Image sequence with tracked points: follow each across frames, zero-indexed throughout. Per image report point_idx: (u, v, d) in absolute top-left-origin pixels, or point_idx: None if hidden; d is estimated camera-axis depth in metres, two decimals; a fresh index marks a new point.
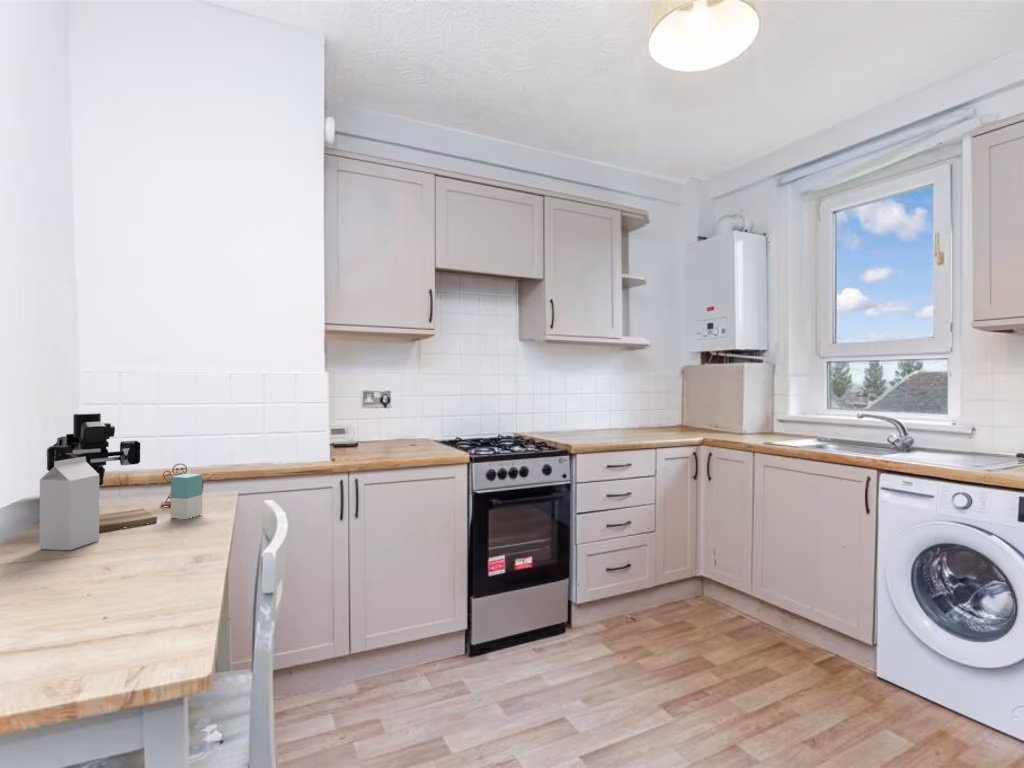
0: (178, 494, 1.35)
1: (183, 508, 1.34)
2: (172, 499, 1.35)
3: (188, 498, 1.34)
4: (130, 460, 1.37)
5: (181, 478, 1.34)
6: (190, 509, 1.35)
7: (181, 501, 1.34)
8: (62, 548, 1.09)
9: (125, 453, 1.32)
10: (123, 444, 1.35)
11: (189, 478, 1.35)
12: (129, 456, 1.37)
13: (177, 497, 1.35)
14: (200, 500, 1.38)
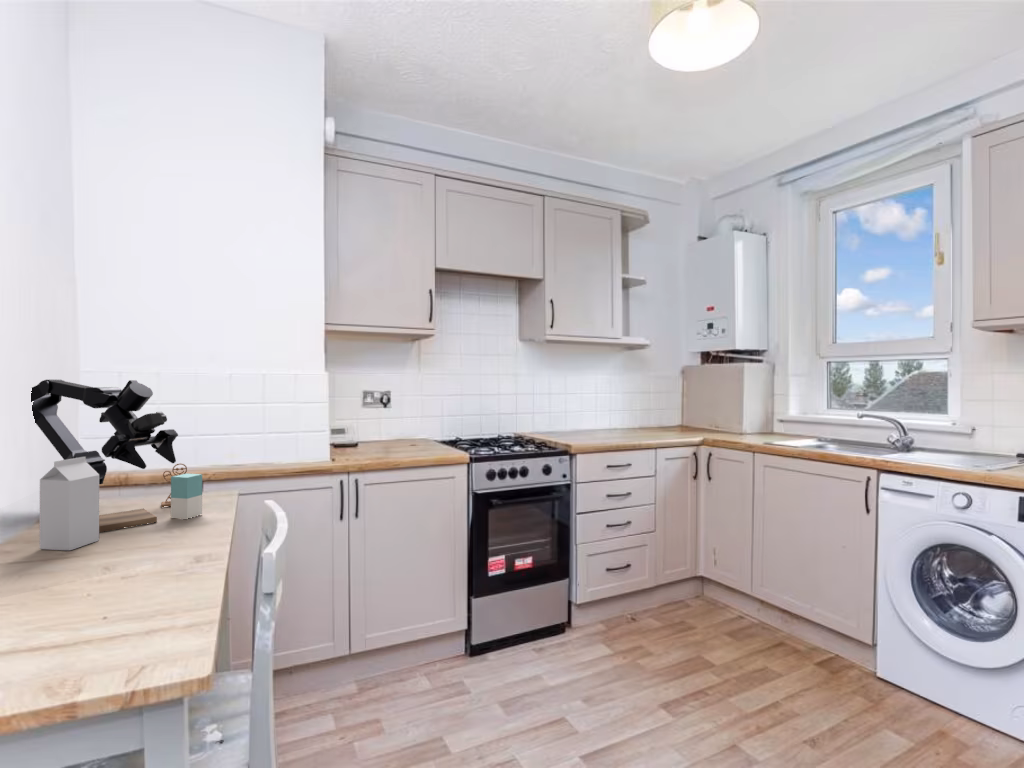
0: (178, 494, 1.35)
1: (183, 508, 1.34)
2: (172, 499, 1.35)
3: (188, 498, 1.34)
4: None
5: (181, 478, 1.34)
6: (190, 509, 1.35)
7: (181, 501, 1.34)
8: (62, 548, 1.09)
9: (173, 456, 1.43)
10: (168, 438, 1.44)
11: (189, 478, 1.35)
12: None
13: (177, 497, 1.35)
14: (200, 500, 1.38)
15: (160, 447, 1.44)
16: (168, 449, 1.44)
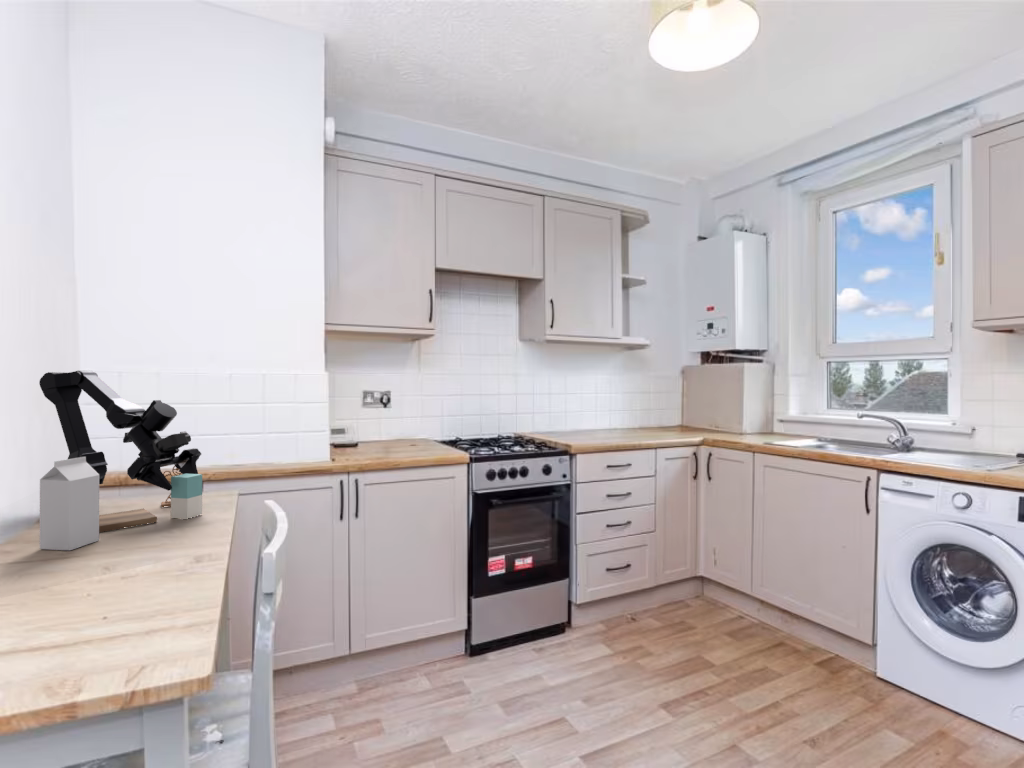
0: (178, 494, 1.35)
1: (183, 508, 1.34)
2: (172, 499, 1.35)
3: (188, 498, 1.34)
4: None
5: (181, 478, 1.34)
6: (190, 509, 1.35)
7: (181, 501, 1.34)
8: (62, 548, 1.09)
9: None
10: (192, 458, 1.43)
11: (189, 478, 1.35)
12: None
13: (177, 497, 1.35)
14: (200, 500, 1.38)
15: (184, 467, 1.43)
16: (192, 469, 1.42)
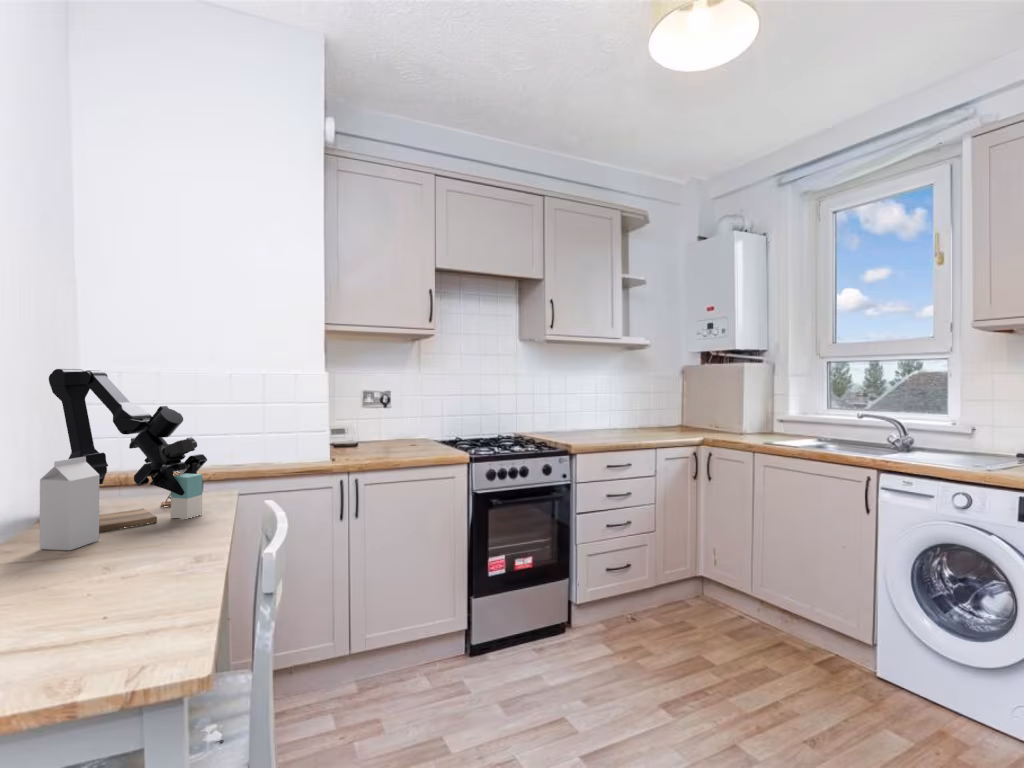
0: None
1: (183, 508, 1.34)
2: (172, 499, 1.35)
3: (188, 498, 1.34)
4: None
5: (181, 478, 1.34)
6: (190, 509, 1.35)
7: (181, 501, 1.34)
8: (62, 548, 1.09)
9: None
10: (193, 465, 1.41)
11: (189, 478, 1.35)
12: None
13: (177, 497, 1.35)
14: (200, 500, 1.38)
15: None
16: None
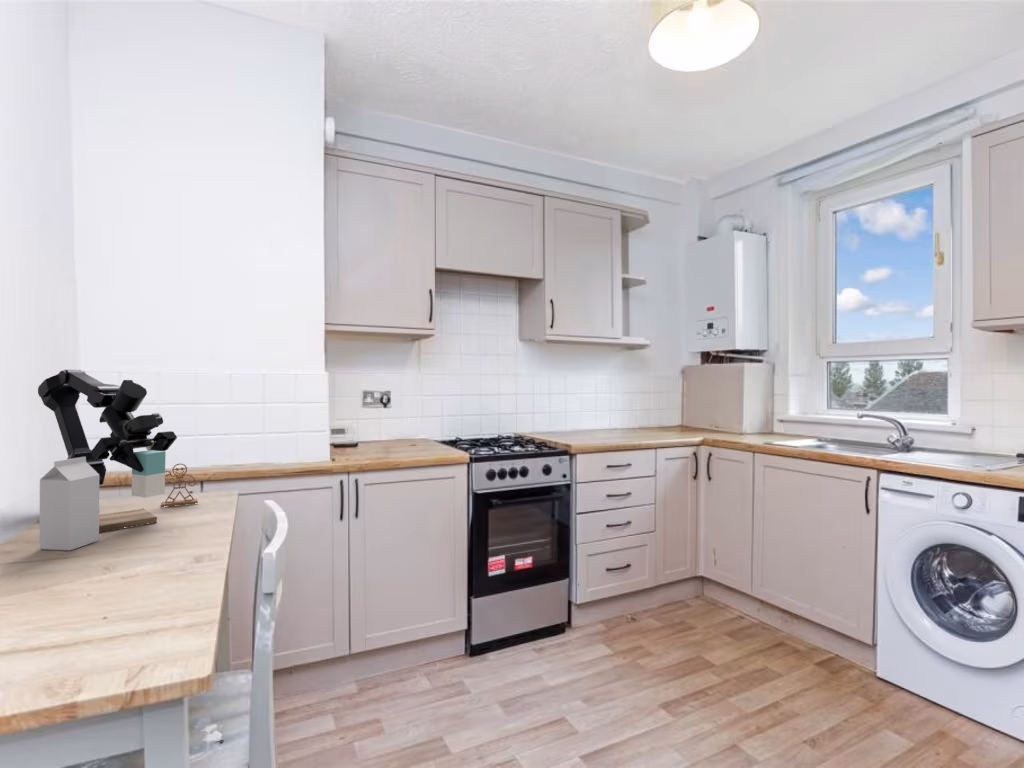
0: None
1: (142, 485, 1.30)
2: (133, 475, 1.31)
3: (147, 475, 1.30)
4: None
5: (141, 454, 1.30)
6: (150, 487, 1.31)
7: (140, 478, 1.30)
8: (62, 548, 1.09)
9: None
10: (158, 442, 1.36)
11: (149, 454, 1.30)
12: None
13: (137, 474, 1.30)
14: (162, 478, 1.34)
15: None
16: None
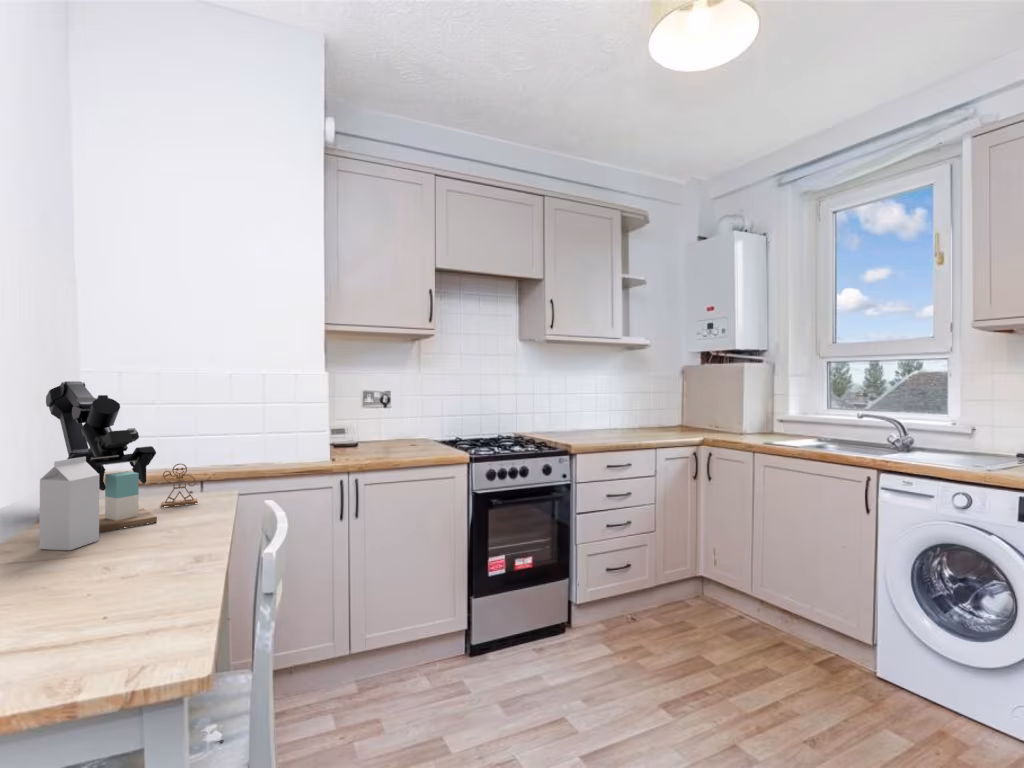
0: (110, 493, 1.28)
1: (113, 508, 1.28)
2: (106, 498, 1.29)
3: (117, 498, 1.27)
4: None
5: (112, 476, 1.28)
6: (121, 510, 1.28)
7: (112, 500, 1.28)
8: (62, 548, 1.09)
9: (144, 475, 1.34)
10: (142, 457, 1.36)
11: (119, 477, 1.28)
12: None
13: (109, 496, 1.28)
14: (135, 500, 1.31)
15: (135, 465, 1.37)
16: (140, 468, 1.35)
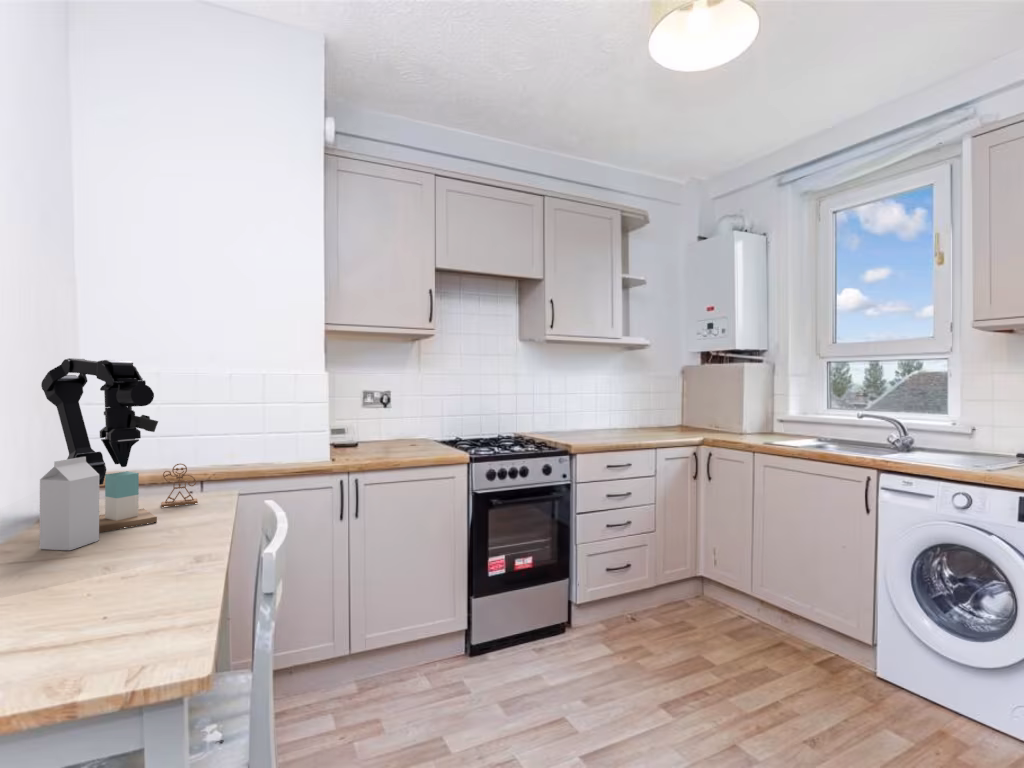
0: (110, 493, 1.28)
1: (113, 508, 1.28)
2: (106, 498, 1.29)
3: (117, 498, 1.27)
4: None
5: (112, 476, 1.28)
6: (121, 510, 1.28)
7: (112, 500, 1.28)
8: (62, 548, 1.09)
9: None
10: None
11: (119, 477, 1.28)
12: None
13: (109, 496, 1.28)
14: (135, 500, 1.31)
15: None
16: None
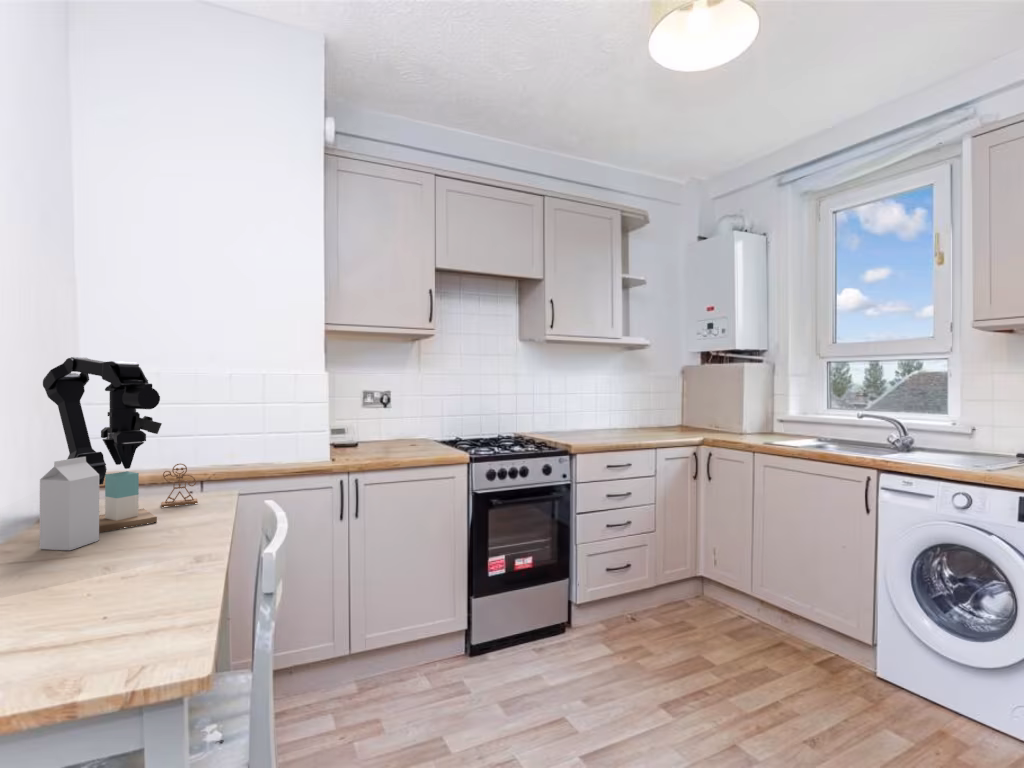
0: (110, 493, 1.28)
1: (113, 508, 1.28)
2: (106, 498, 1.29)
3: (117, 498, 1.27)
4: None
5: (112, 476, 1.28)
6: (121, 510, 1.28)
7: (112, 500, 1.28)
8: (62, 548, 1.09)
9: None
10: None
11: (119, 477, 1.28)
12: None
13: (109, 496, 1.28)
14: (135, 500, 1.31)
15: (114, 441, 1.40)
16: None
